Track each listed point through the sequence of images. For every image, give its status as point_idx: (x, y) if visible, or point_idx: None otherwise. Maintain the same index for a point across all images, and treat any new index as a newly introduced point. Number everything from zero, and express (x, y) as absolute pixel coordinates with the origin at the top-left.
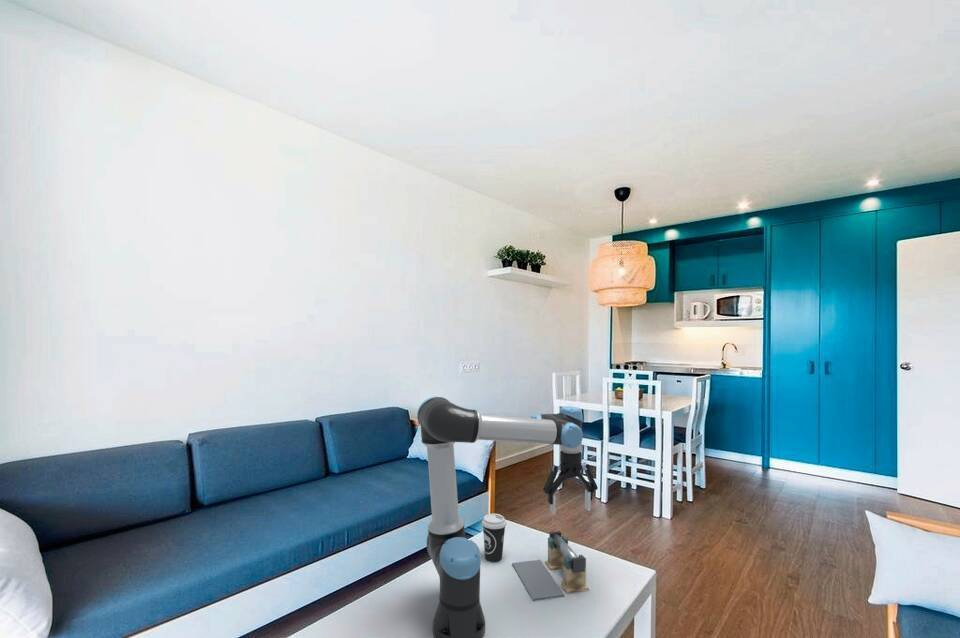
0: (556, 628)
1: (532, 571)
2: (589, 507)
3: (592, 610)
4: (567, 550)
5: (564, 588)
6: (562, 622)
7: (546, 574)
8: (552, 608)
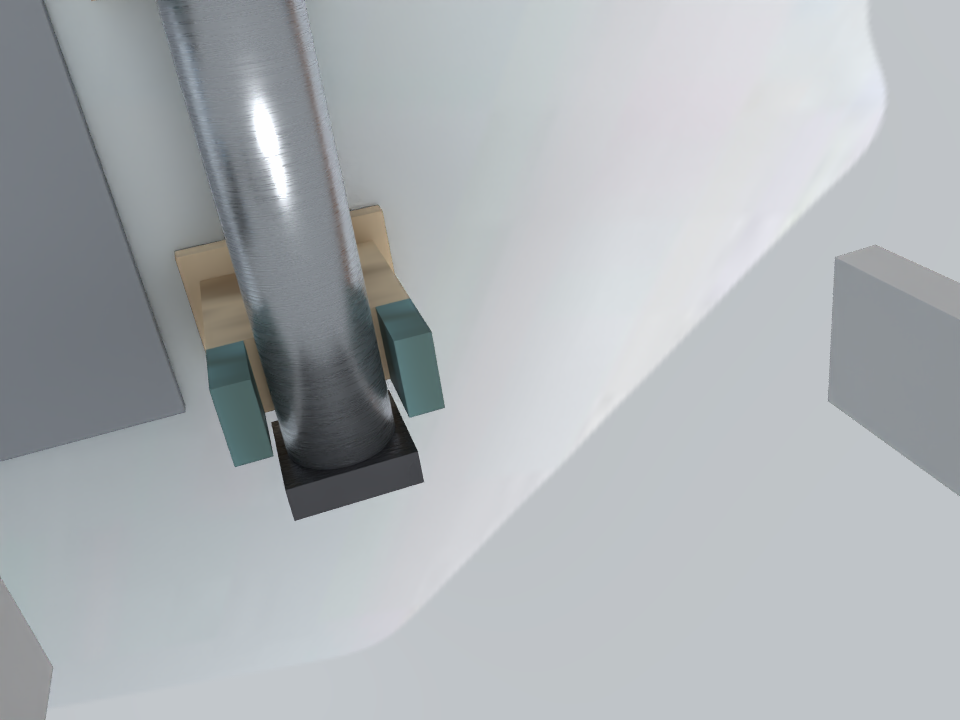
0: (81, 696)
1: None
2: (898, 433)
3: (355, 519)
4: (277, 294)
5: (198, 327)
6: (128, 646)
7: (37, 119)
8: (68, 538)
